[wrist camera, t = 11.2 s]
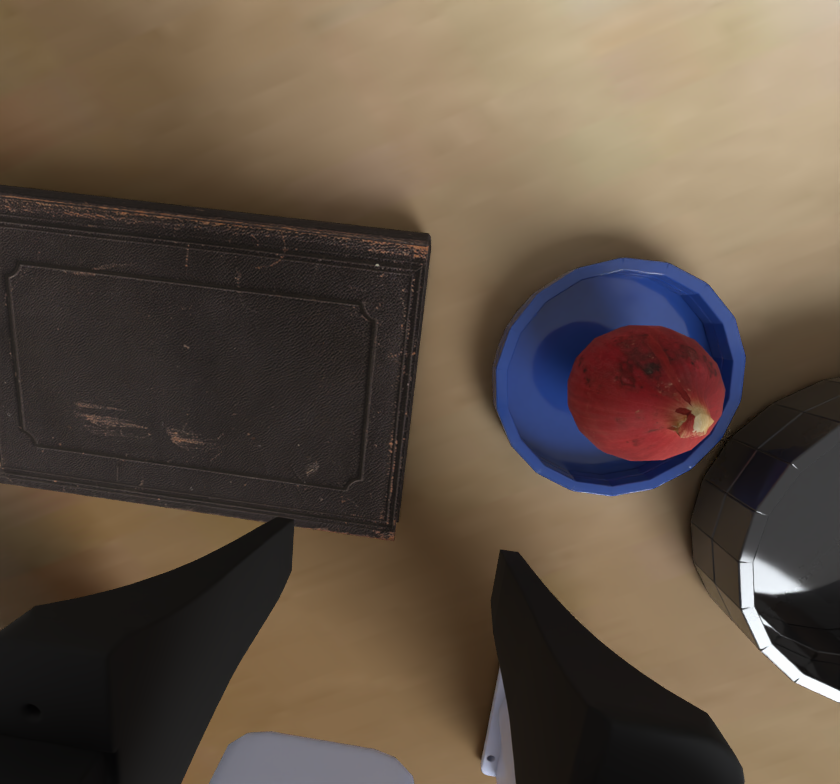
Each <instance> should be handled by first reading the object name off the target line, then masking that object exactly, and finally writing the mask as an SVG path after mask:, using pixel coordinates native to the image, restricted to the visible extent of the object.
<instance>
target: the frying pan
mask: <svg viewBox="0 0 840 784" xmlns="http://www.w3.org/2000/svg"><path fill="white" fill-rule="evenodd" d="M691 535H692V549H693V562H694V564H695V567H696V569H697V571H698V573H699V575H700V577H701V579H702V581H703V583H704V585H705V587H706V589H707V591H708V594H709V596H710V597H711V598H712V600H713V601H714V602H715V603H716V604H717V605H718V606H719V607H720V608H721V609H722V610H723V611H724V612H725V614H726V615H727V616H728V617H729V618H730V619H731V620H732V621H733V622H734V623H735V624H736V625H737V626H738V628H739V629H740V630H741V631H742V632H743V633H744V634H745V635H746V636H747V637H748V638H749V639H750V641H751V642H752V643H753V644H754V645H755V646H756V647H757V648H758V649H759V650H760V651H761V652H762V653H763V654H764V655H765V656H766V657H767V658H768V659H769V660H770V661H771V662H772V663H774V664H775V665H776V666H777V667H778V668H779V669H780V670H781V671H782V672H783V673H784V674H785V675H786V676H787V677H788V678H789V679H791V680H792V681H793V682H795V683H797V684H799V685H801V686H803V687H805V688H808V689H810V690H812V691H814V692H816V693H819V694H821V695H823V696H825V697H827V698H829V699H832V700H834V701H836V702H838V703H840V377H838V378H832V379H826V380H823V381H820V382H818V383H816V384H814V385H811V386H809V387H807V388H805V389H803V390H800V391H798V392H796V393H794V394H792V395H789V396H787V397H785V398H783V399H781V400H779V401H776V402H774V403H773V404H771V405H770V406H769V407H767V408H766V409H765V410H764V411H763V412H761V413H760V414H759V415H758V416H756V417H755V418H754V419H753V420H752V421H750V422H749V423H748V424H747V425H746V426H744V427H743V428H742V429H741V430H739V431H738V432H737V433H736V434H735V435H733V436H732V438H731V439H730V440H729V441H728V443H727V444H726V446H725V447H724V448H723V450H722V451H721V453H720V454H719V456H718V457H717V459H716V460H715V462H714V463H713V464H712V466H711V467H710V469H709V470H708V472H707V473H706V475H705V476H704V479H703V480H702V484H701V487H700V490H699V494H698V497H697V501H696V504H695V507H694V511H693V514H692V518H691Z"/></svg>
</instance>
